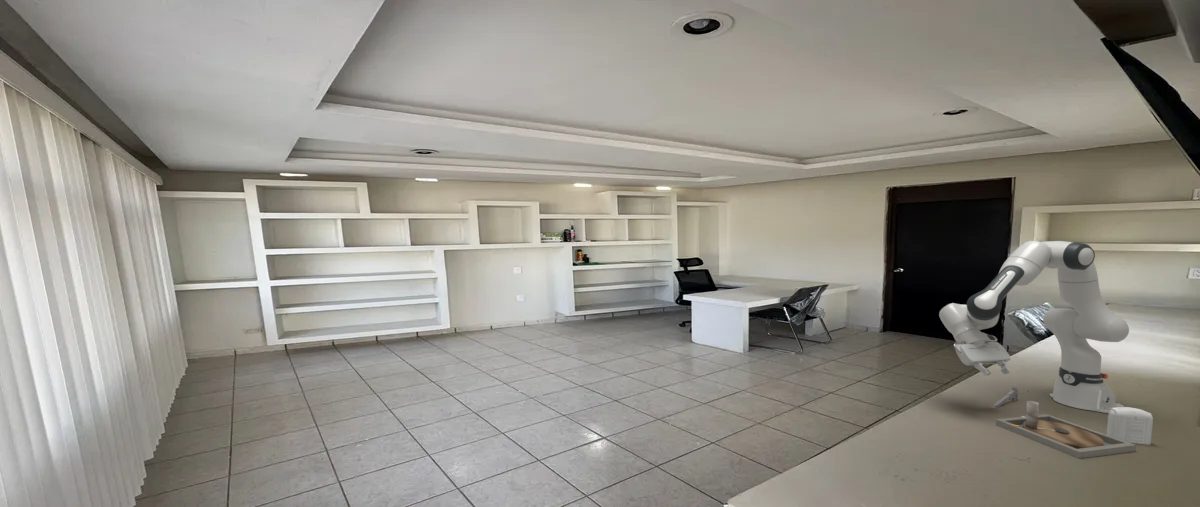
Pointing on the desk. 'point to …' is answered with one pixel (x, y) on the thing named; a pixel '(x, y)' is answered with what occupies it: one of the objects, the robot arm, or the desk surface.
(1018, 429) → the dial base
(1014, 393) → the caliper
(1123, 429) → the photo printer
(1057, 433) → the dial
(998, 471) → the desk surface
